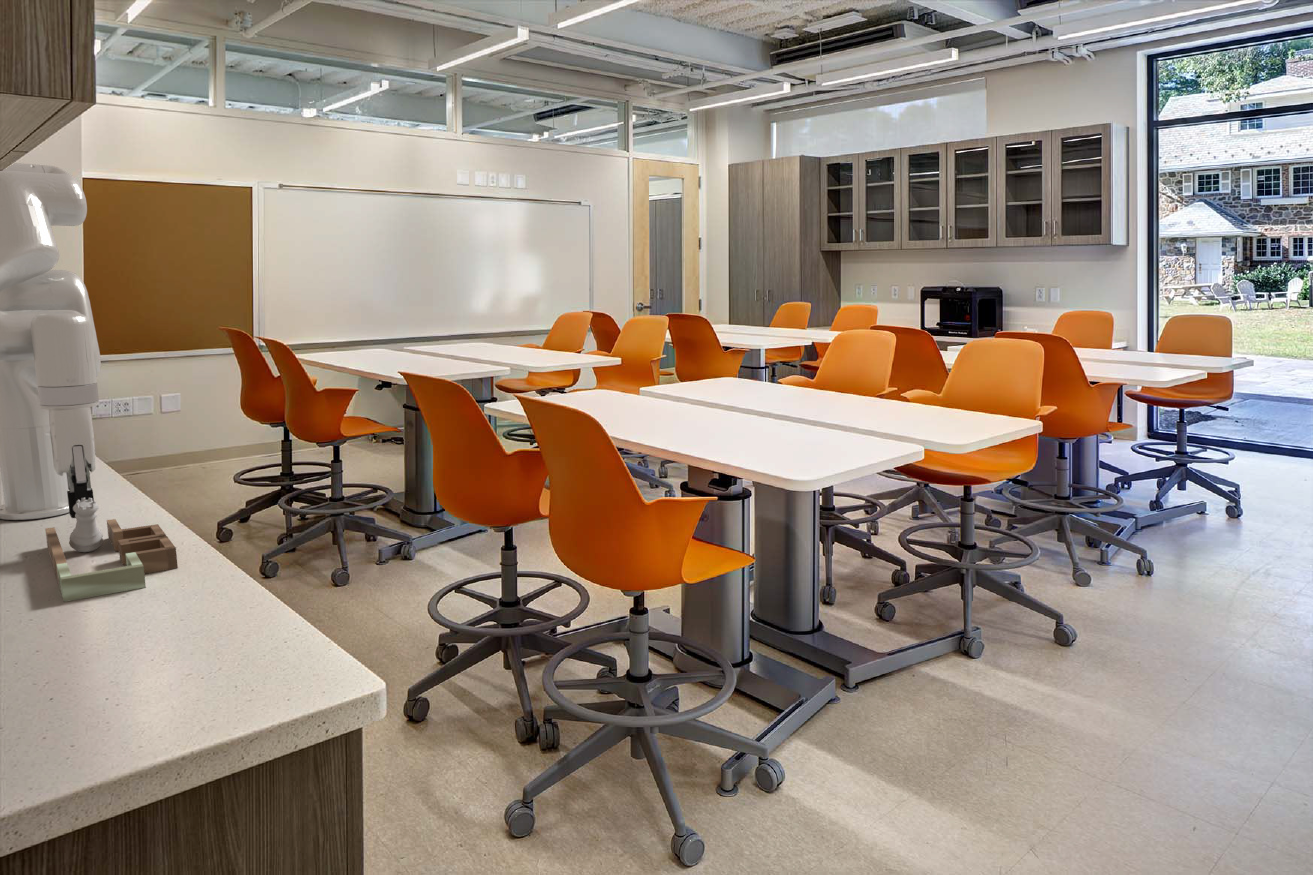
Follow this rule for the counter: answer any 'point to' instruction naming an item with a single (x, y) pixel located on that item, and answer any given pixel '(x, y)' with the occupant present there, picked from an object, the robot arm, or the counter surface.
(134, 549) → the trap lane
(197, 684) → the counter surface
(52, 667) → the counter surface
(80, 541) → the rook chess piece
